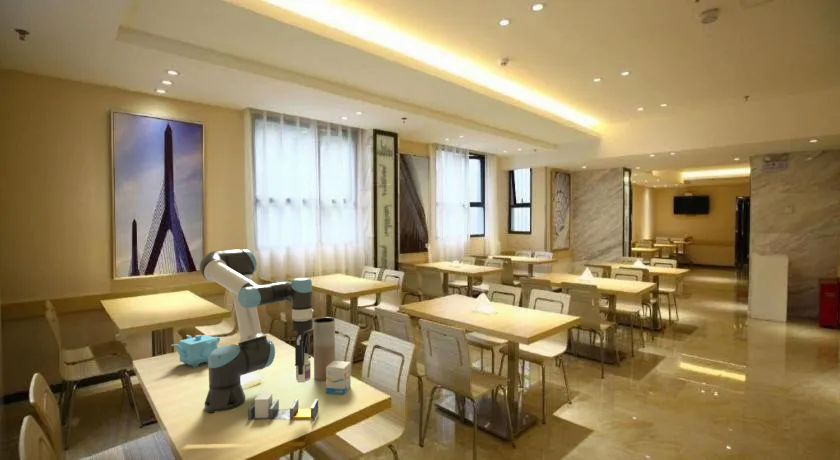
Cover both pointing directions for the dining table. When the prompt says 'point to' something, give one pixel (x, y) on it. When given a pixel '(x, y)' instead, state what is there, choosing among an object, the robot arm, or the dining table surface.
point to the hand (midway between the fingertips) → (303, 378)
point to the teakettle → (196, 349)
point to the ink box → (338, 377)
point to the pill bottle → (306, 368)
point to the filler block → (263, 405)
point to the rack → (286, 411)
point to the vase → (323, 346)
